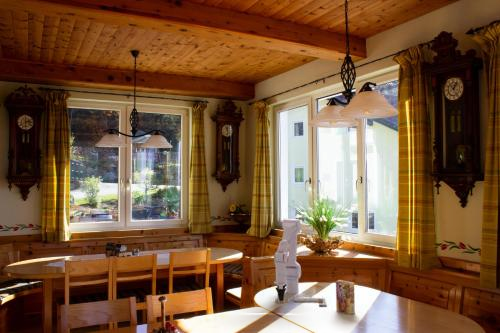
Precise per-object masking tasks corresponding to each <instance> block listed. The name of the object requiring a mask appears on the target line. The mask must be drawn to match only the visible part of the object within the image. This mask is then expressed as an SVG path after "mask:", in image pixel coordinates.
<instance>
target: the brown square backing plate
mask: <svg viewBox="0 0 500 333" xmlns="http://www.w3.org/2000/svg"><path fill="white" fill-rule="evenodd" d="M274 303H275V304H289V298H285V302H278V298H275V299H274Z"/></svg>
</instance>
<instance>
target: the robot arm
mask: <svg viewBox="0 0 500 333" xmlns="http://www.w3.org/2000/svg"><path fill="white" fill-rule="evenodd" d="M301 225H302V223H301V221H300V219H299V218H296V219H295V218H283V219H282V221H281V227H282V230H283V233H282V238H281V240H280V241H279V243H278V247H277V249H276V252H275V253H274V255H273V261H274V266H275V281H273V284H274V285H275V284H276V287H275V290H276V292H277V298H278V297H279V301H283V300H284V293H285V294H286V293H287V294H292V295H294V294H299V292H300V290H299V280H300V278H301V276H302V269H301V268H302V267H301V265H300V263H299V262H297V254H298V251H297V250H298V235H299V234H300V233H301Z"/></svg>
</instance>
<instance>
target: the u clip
mask: <svg viewBox="0 0 500 333" xmlns="http://www.w3.org/2000/svg"><path fill="white" fill-rule="evenodd" d="M277 299H278V302H285V299H286V292H285V293H284V300H283V301H279V297H278V296H277Z"/></svg>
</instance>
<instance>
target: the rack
mask: <svg viewBox="0 0 500 333" xmlns="http://www.w3.org/2000/svg"><path fill="white" fill-rule="evenodd" d="M294 300H295V303H297V302H298V303H299V302H300V303H302V302H303V303H304V302H307V303H314V302H315V303H318V307H324V308H325V307H327V302H326V298H323V297H321V296H319V297H318V296H316V297H315V296H313V297H309V296H308V297H307V296H303V297H302V296H295V297H294Z"/></svg>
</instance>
